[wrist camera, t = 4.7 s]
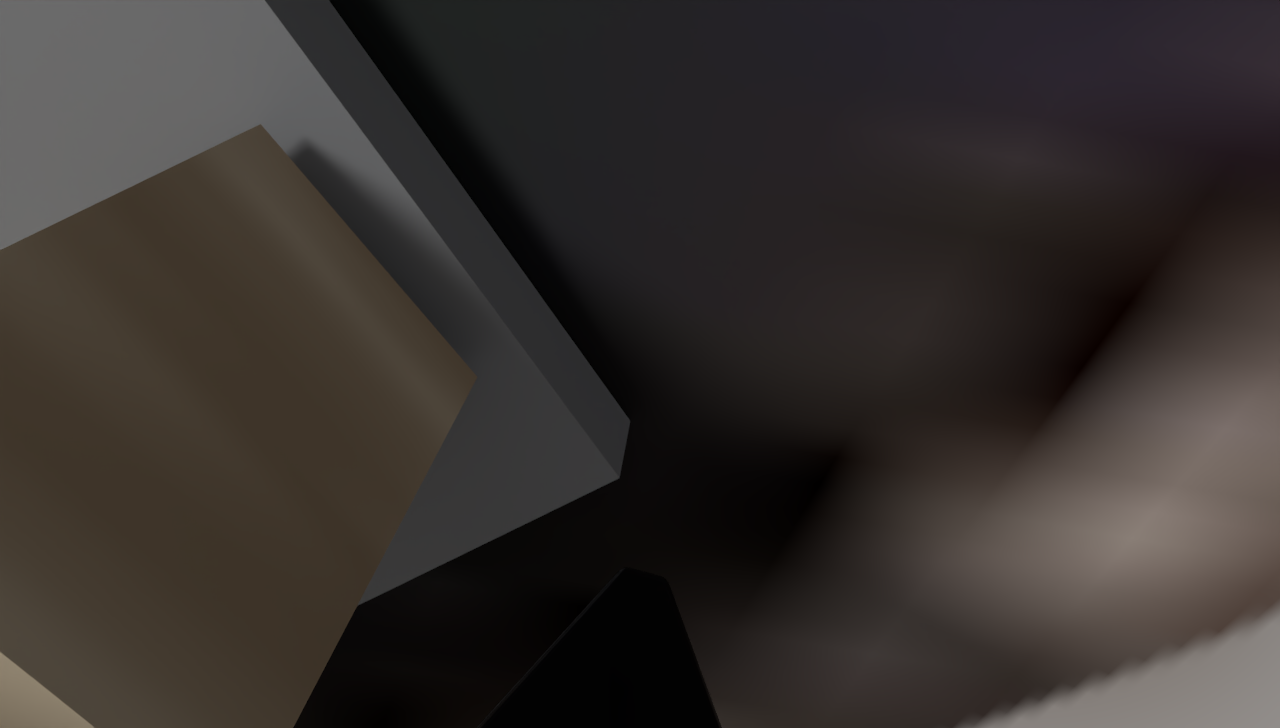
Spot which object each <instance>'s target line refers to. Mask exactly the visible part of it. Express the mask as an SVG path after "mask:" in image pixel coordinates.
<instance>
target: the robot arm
mask: <svg viewBox="0 0 1280 728" xmlns="http://www.w3.org/2000/svg"><path fill="white" fill-rule="evenodd" d="M477 728H722V727H721V724H720V721H719V719H718V716H717V713H716V710H715V708H714V705H713V702H712V700H711V697H710V694H709V691H708V689H707V686H706V683H705V681H704V678H703V675H702V672H701V670H700V667H699V664H698V662H697V659H696V656H695V653H694V651H693V648H692V645H691V642H690V640H689V637H688V634H687V632H686V629H685V626H684V623H683V621H682V618H681V615H680V613H679V610H678V607H677V604H676V602H675V599H674V596H673V594H672V591H671V588H670V586H669V584H668V582H667V580H666V579H665V578H664V577H662V576H658V575H655V574H651V573H647V572H643V571H640V570H636V569H632V568H627V567H626V568H623V569H621V570H620V571H618V572H617V573H616V574H615V576H614V577H613V578H612V579H611V580H610V581H609V582H608V583H607V584H606V585H605V587H604V588H603V589H602V590H601V591H600V592H599V593H598V594H597V595H596V596H595V598H594V599H593V600H592V601H591V602H590V603H589V604H588V605H587V606H586V608H585V609H584V610H583V611H582V612H581V613H580V614H579V615H578V616H577V617H576V619H575V620H574V621H573V622H572V623H571V624H570V625H569V626H568V627H567V628H566V630H565V631H564V632H563V633H562V634H561V635H560V636H559V637H558V638H557V639H556V641H555V642H554V643H553V644H552V645H551V646H550V647H549V648H548V649H547V650H546V652H545V653H544V654H543V655H542V656H541V657H540V658H539V659H538V660H537V661H536V663H535V664H534V665H533V666H532V667H531V668H530V669H529V670H528V671H527V672H526V674H525V675H524V676H523V677H522V678H521V679H520V680H519V681H518V682H517V684H516V685H515V686H514V687H513V688H512V689H511V690H510V691H509V692H508V693H507V695H506V696H505V697H504V698H503V699H502V700H501V701H500V702H499V703H498V704H497V706H496V707H495V708H494V709H493V710H492V711H491V712H490V713H489V714H488V715H487V717H486V718H485V719H484V720H483V721H482V722H481V723H480V724H479V725H478V726H477Z"/></svg>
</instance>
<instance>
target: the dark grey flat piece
mask: <svg viewBox="0 0 1280 728" xmlns="http://www.w3.org/2000/svg"><path fill="white" fill-rule="evenodd" d="M260 124H261V125H262V126H263V127H264V128H265V130H266V131H267V132H268V133H269V134H270V135H271V137H272V138H273V139H274V140H275V141H276V142H277V144H278V145H279V146H280V147H281V148H282V149H283V151H284V152H285V153H286V154H287V155H288V156H289V158H290V159H291V160H292V161H293V162H294V163H295V165H296V166H297V167H298V168H299V169H300V170H301V172H302V173H303V174H304V175H305V176H306V177H307V179H308V180H309V181H310V182H311V183H312V185H313V186H314V187H315V188H316V189H317V190H318V192H319V193H320V194H321V195H322V196H323V197H324V199H325V200H326V201H327V202H328V203H329V204H330V206H331V207H332V208H333V209H334V210H335V211H336V213H337V214H338V215H339V216H340V217H341V218H342V220H343V221H344V222H345V223H346V224H347V225H348V227H349V228H350V229H351V230H352V231H353V232H354V234H355V235H356V236H357V237H358V238H359V239H360V241H361V242H362V243H363V244H364V245H365V246H366V248H367V249H368V250H369V251H370V252H371V253H372V255H373V256H374V257H375V258H376V259H377V260H378V262H379V263H380V264H381V265H382V266H383V267H384V269H385V270H386V271H387V272H388V273H389V274H390V276H391V277H392V278H393V279H394V280H395V281H396V283H397V284H398V285H399V286H400V287H401V288H402V290H403V291H404V292H405V293H406V294H407V295H408V297H409V298H410V299H411V300H412V301H413V302H414V304H415V305H416V306H417V307H418V308H419V309H420V311H421V312H422V313H423V314H424V315H425V316H426V318H427V319H428V320H429V321H430V322H431V323H432V325H433V326H434V327H435V328H436V329H437V330H438V332H439V333H440V334H441V335H442V336H443V337H444V339H445V340H446V341H447V342H448V343H449V344H450V346H451V347H452V348H453V349H454V350H455V351H456V353H457V354H458V355H459V356H460V357H461V358H462V360H463V361H464V362H465V363H466V364H467V365H468V367H469V368H470V369H471V370H472V371H473V372H474V374H475V375H476V376H477V379H476V381H475V383H474V385H473V386H472V388H471V390H470V392H469V394H468V396H467V398H466V400H465V402H464V404H463V405H462V407H461V409H460V411H459V413H458V415H457V417H456V419H455V421H454V423H453V425H452V426H451V428H450V430H449V432H448V434H447V436H446V438H445V440H444V442H443V444H442V445H441V447H440V449H439V451H438V453H437V455H436V457H435V459H434V461H433V463H432V464H431V466H430V468H429V470H428V472H427V474H426V476H425V478H424V480H423V482H422V484H421V485H420V487H419V489H418V491H417V493H416V495H415V497H414V499H413V501H412V503H411V504H410V506H409V508H408V510H407V512H406V514H405V516H404V518H403V520H402V522H401V523H400V525H399V527H398V529H397V531H396V533H395V535H394V537H393V539H392V541H391V543H390V544H389V546H388V548H387V550H386V552H385V554H384V556H383V558H382V560H381V562H380V563H379V565H378V567H377V569H376V571H375V573H374V575H373V577H372V579H371V581H370V582H369V584H368V586H367V588H366V590H365V592H364V594H363V596H362V598H361V600H360V602H359V603H358V605H360V604H362V603H364V602H366V601H368V600H370V599H372V598H374V597H377V596H379V595H381V594H383V593H385V592H387V591H389V590H391V589H393V588H395V587H397V586H399V585H401V584H403V583H405V582H407V581H409V580H411V579H413V578H416V577H418V576H420V575H422V574H424V573H426V572H428V571H430V570H432V569H434V568H436V567H438V566H440V565H442V564H444V563H446V562H448V561H450V560H452V559H455V558H457V557H459V556H461V555H463V554H465V553H467V552H469V551H471V550H473V549H475V548H477V547H479V546H481V545H483V544H485V543H487V542H489V541H491V540H494V539H496V538H498V537H500V536H502V535H504V534H506V533H508V532H510V531H512V530H514V529H516V528H518V527H520V526H522V525H524V524H526V523H528V522H530V521H533V520H535V519H537V518H539V517H541V516H543V515H545V514H547V513H549V512H551V511H553V510H555V509H557V508H559V507H561V506H563V505H565V504H567V503H569V502H571V501H574V500H576V499H578V498H580V497H582V496H584V495H586V494H588V493H590V492H592V491H594V490H596V489H598V488H600V487H602V486H604V485H606V484H608V483H610V482H613V481H615V480H617V479H619V478H620V473H621V468H622V463H623V457H624V452H625V447H626V442H627V436H628V431H629V426H630V420H629V418H628V417H627V416H626V414H625V413H624V412H623V410H622V409H621V407H620V406H619V405H618V403H617V402H616V400H615V399H614V398H613V396H612V395H611V393H610V392H609V391H608V389H607V388H606V386H605V385H604V384H603V382H602V381H601V379H600V378H599V377H598V375H597V374H596V372H595V371H594V370H593V368H592V367H591V365H590V364H589V363H588V361H587V360H586V358H585V357H584V356H583V354H582V353H581V351H580V350H579V349H578V347H577V346H576V344H575V343H574V342H573V340H572V339H571V338H570V336H569V335H568V333H567V332H566V331H565V329H564V328H563V326H562V325H561V324H560V322H559V321H558V319H557V318H556V317H555V315H554V314H553V312H552V311H551V310H550V308H549V307H548V305H547V304H546V303H545V301H544V300H543V298H542V297H541V296H540V294H539V293H538V291H537V290H536V289H535V287H534V286H533V284H532V283H531V282H530V280H529V279H528V277H527V276H526V275H525V273H524V272H523V271H522V269H521V268H520V266H519V265H518V264H517V262H516V261H515V259H514V258H513V257H512V255H511V254H510V252H509V251H508V250H507V248H506V247H505V245H504V244H503V243H502V241H501V240H500V238H499V237H498V236H497V234H496V233H495V231H494V230H493V229H492V227H491V226H490V224H489V223H488V222H487V220H486V219H485V217H484V216H483V215H482V213H481V212H480V210H479V209H478V208H477V206H476V205H475V203H474V202H473V201H472V199H471V198H470V197H469V195H468V194H467V192H466V191H465V190H464V188H463V187H462V185H461V184H460V183H459V181H458V180H457V178H456V177H455V176H454V174H453V173H452V171H451V170H450V169H449V167H448V166H447V164H446V163H445V162H444V160H443V159H442V157H441V156H440V155H439V153H438V152H437V150H436V149H435V148H434V146H433V145H432V143H431V142H430V141H429V139H428V138H427V136H426V135H425V134H424V132H423V131H422V129H421V128H420V127H419V125H418V124H417V123H416V121H415V120H414V118H413V117H412V116H411V114H410V113H409V111H408V110H407V109H406V107H405V106H404V104H403V103H402V102H401V100H400V99H399V97H398V96H397V95H396V93H395V92H394V90H393V89H392V88H391V86H390V85H389V83H388V82H387V81H386V79H385V78H384V76H383V75H382V74H381V72H380V71H379V69H378V68H377V67H376V65H375V64H374V62H373V61H372V60H371V58H370V57H369V55H368V54H367V53H366V51H365V50H364V49H363V47H362V46H361V44H360V43H359V42H358V40H357V39H356V37H355V36H354V35H353V33H352V32H351V30H350V29H349V28H348V26H347V25H346V23H345V22H344V21H343V19H342V18H341V16H340V15H339V14H338V12H337V11H336V9H335V8H334V7H333V5H332V4H331V2H330V1H329V0H0V250H2V249H4V248H6V247H8V246H10V245H12V244H14V243H16V242H18V241H20V240H22V239H24V238H26V237H28V236H30V235H32V234H35V233H37V232H39V231H41V230H43V229H45V228H47V227H49V226H51V225H53V224H55V223H57V222H59V221H61V220H63V219H66V218H68V217H70V216H72V215H74V214H76V213H78V212H80V211H82V210H84V209H86V208H88V207H90V206H92V205H94V204H96V203H99V202H101V201H103V200H105V199H107V198H109V197H111V196H113V195H115V194H117V193H119V192H121V191H123V190H125V189H127V188H130V187H132V186H134V185H136V184H138V183H140V182H142V181H144V180H146V179H148V178H150V177H152V176H154V175H156V174H158V173H161V172H163V171H165V170H167V169H169V168H171V167H173V166H175V165H177V164H179V163H181V162H183V161H185V160H187V159H189V158H191V157H194V156H196V155H198V154H200V153H202V152H204V151H206V150H208V149H210V148H212V147H214V146H216V145H218V144H220V143H222V142H225V141H227V140H229V139H231V138H233V137H235V136H237V135H239V134H241V133H243V132H245V131H247V130H249V129H251V128H253V127H255V126H258V125H260ZM358 605H357V606H358Z"/></svg>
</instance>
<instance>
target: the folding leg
mask: <svg viewBox="0 0 1280 728" xmlns="http://www.w3.org/2000/svg"><path fill="white" fill-rule="evenodd" d="M476 379H477V376H476V375H475V374H474V372H473V371H472V370H471V369H470V368H469V367H468V365H467V364H466V363H465V362H464V361H463V360H462V358H461V357H460V356H459V355H458V354H457V353H456V351H455V350H454V349H453V348H452V347H451V346H450V344H449V343H448V342H447V341H446V340H445V339H444V337H443V336H442V335H441V334H440V333H439V332H438V330H437V329H436V328H435V327H434V326H433V325H432V323H431V322H430V321H429V320H428V319H427V318H426V316H425V315H424V314H423V313H422V312H421V311H420V309H419V308H418V307H417V306H416V305H415V304H414V302H413V301H412V300H411V299H410V298H409V297H408V295H407V294H406V293H405V292H404V291H403V290H402V288H401V287H400V286H399V285H398V284H397V283H396V281H395V280H394V279H393V278H392V277H391V276H390V274H389V273H388V272H387V271H386V270H385V269H384V267H383V266H382V265H381V264H380V263H379V262H378V260H377V259H376V258H375V257H374V256H373V255H372V253H371V252H370V251H369V250H368V249H367V248H366V246H365V245H364V244H363V243H362V242H361V241H360V239H359V238H358V237H357V236H356V235H355V234H354V232H353V231H352V230H351V229H350V228H349V227H348V225H347V224H346V223H345V222H344V221H343V220H342V218H341V217H340V216H339V215H338V214H337V213H336V211H335V210H334V209H333V208H332V207H331V206H330V204H329V203H328V202H327V201H326V200H325V199H324V197H323V196H322V195H321V194H320V193H319V192H318V190H317V189H316V188H315V187H314V186H313V185H312V183H311V182H310V181H309V180H308V179H307V177H306V176H305V175H304V174H303V173H302V172H301V170H300V169H299V168H298V167H297V166H296V165H295V163H294V162H293V161H292V160H291V159H290V158H289V156H288V155H287V154H286V153H285V152H284V151H283V149H282V148H281V147H280V146H279V145H278V144H277V142H276V141H275V140H274V139H273V138H272V137H271V135H270V134H269V133H268V132H267V131H266V130H265V128H264V127H263V126H262V125H261V124H260V125H258V126H255V127H253V128H251V129H249V130H247V131H245V132H243V133H241V134H239V135H237V136H235V137H233V138H231V139H229V140H227V141H225V142H222V143H220V144H218V145H216V146H214V147H212V148H210V149H208V150H206V151H204V152H202V153H200V154H198V155H196V156H194V157H191V158H189V159H187V160H185V161H183V162H181V163H179V164H177V165H175V166H173V167H171V168H169V169H167V170H165V171H163V172H161V173H158V174H156V175H154V176H152V177H150V178H148V179H146V180H144V181H142V182H140V183H138V184H136V185H134V186H132V187H130V188H127V189H125V190H123V191H121V192H119V193H117V194H115V195H113V196H111V197H109V198H107V199H105V200H103V201H101V202H99V203H96V204H94V205H92V206H90V207H88V208H86V209H84V210H82V211H80V212H78V213H76V214H74V215H72V216H70V217H68V218H66V219H63V220H61V221H59V222H57V223H55V224H53V225H51V226H49V227H47V228H45V229H43V230H41V231H39V232H37V233H35V234H32V235H30V236H28V237H26V238H24V239H22V240H20V241H18V242H16V243H14V244H12V245H10V246H8V247H6V248H4V249H2V250H0V728H293V727H294V725H295V723H296V721H297V720H298V718H299V716H300V714H301V712H302V710H303V708H304V706H305V704H306V702H307V700H308V699H309V697H310V695H311V693H312V691H313V689H314V687H315V685H316V683H317V681H318V680H319V678H320V676H321V674H322V672H323V670H324V668H325V666H326V664H327V662H328V661H329V659H330V657H331V655H332V653H333V651H334V649H335V647H336V645H337V643H338V641H339V640H340V638H341V636H342V634H343V632H344V630H345V628H346V626H347V624H348V622H349V621H350V619H351V617H352V615H353V613H354V611H355V609H356V607H357V605H358V603H359V602H360V600H361V598H362V596H363V594H364V592H365V590H366V588H367V586H368V584H369V582H370V581H371V579H372V577H373V575H374V573H375V571H376V569H377V567H378V565H379V563H380V562H381V560H382V558H383V556H384V554H385V552H386V550H387V548H388V546H389V544H390V543H391V541H392V539H393V537H394V535H395V533H396V531H397V529H398V527H399V525H400V523H401V522H402V520H403V518H404V516H405V514H406V512H407V510H408V508H409V506H410V504H411V503H412V501H413V499H414V497H415V495H416V493H417V491H418V489H419V487H420V485H421V484H422V482H423V480H424V478H425V476H426V474H427V472H428V470H429V468H430V466H431V464H432V463H433V461H434V459H435V457H436V455H437V453H438V451H439V449H440V447H441V445H442V444H443V442H444V440H445V438H446V436H447V434H448V432H449V430H450V428H451V426H452V425H453V423H454V421H455V419H456V417H457V415H458V413H459V411H460V409H461V407H462V405H463V404H464V402H465V400H466V398H467V396H468V394H469V392H470V390H471V388H472V386H473V385H474V383H475V381H476Z"/></svg>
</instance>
